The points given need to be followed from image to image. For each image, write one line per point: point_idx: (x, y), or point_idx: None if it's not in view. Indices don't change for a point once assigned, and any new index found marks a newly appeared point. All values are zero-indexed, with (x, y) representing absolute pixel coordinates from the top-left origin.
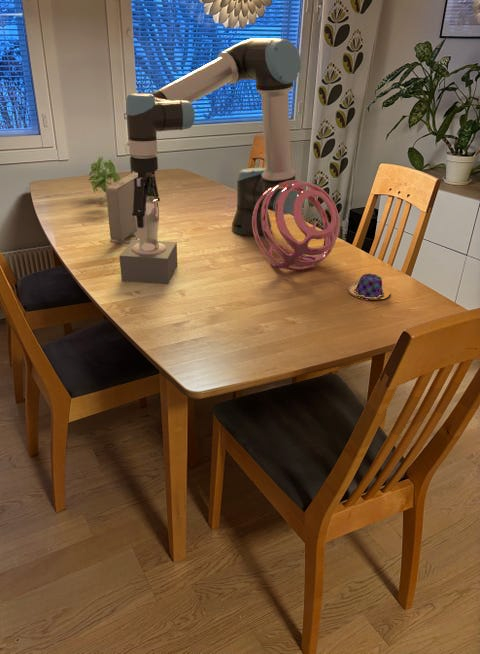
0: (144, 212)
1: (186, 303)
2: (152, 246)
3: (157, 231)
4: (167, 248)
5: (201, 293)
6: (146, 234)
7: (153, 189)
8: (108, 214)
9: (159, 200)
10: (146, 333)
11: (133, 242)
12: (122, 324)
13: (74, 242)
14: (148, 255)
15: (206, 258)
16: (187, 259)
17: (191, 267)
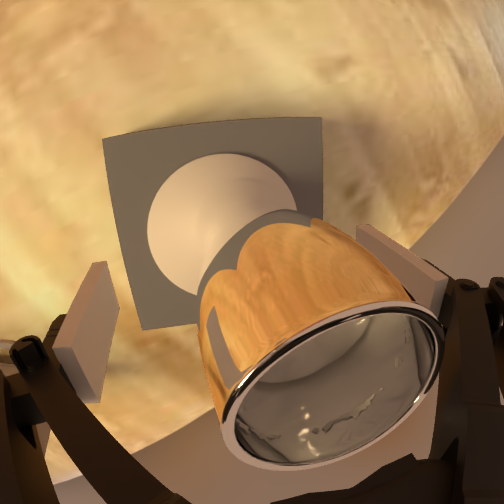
0: (461, 293)
1: (388, 51)
2: (281, 202)
3: (259, 204)
4: (198, 150)
5: (325, 14)
6: (377, 231)
7: (125, 474)
8: (45, 449)
9: (23, 339)
10: (487, 126)
11: (171, 315)
12: (470, 175)
13: None
14: (302, 203)
15: (34, 68)
16: (56, 125)
17: (122, 82)
